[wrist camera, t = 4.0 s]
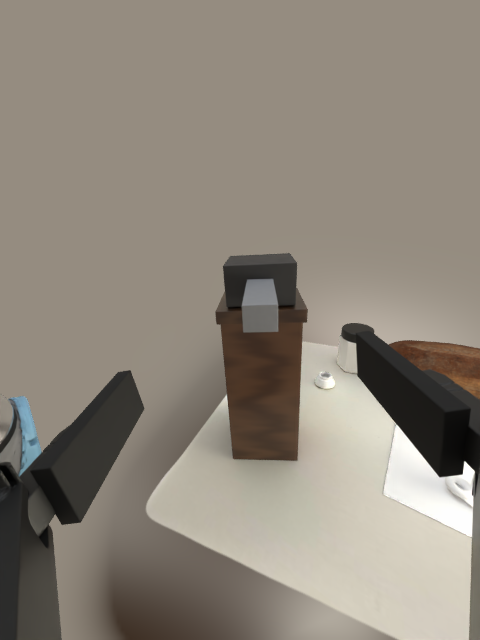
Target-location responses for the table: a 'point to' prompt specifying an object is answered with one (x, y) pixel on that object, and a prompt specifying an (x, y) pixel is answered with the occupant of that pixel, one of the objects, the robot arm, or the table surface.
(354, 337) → the jar
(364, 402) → the table surface
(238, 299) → the sledgehammer head
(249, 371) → the stand
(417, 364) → the bread
